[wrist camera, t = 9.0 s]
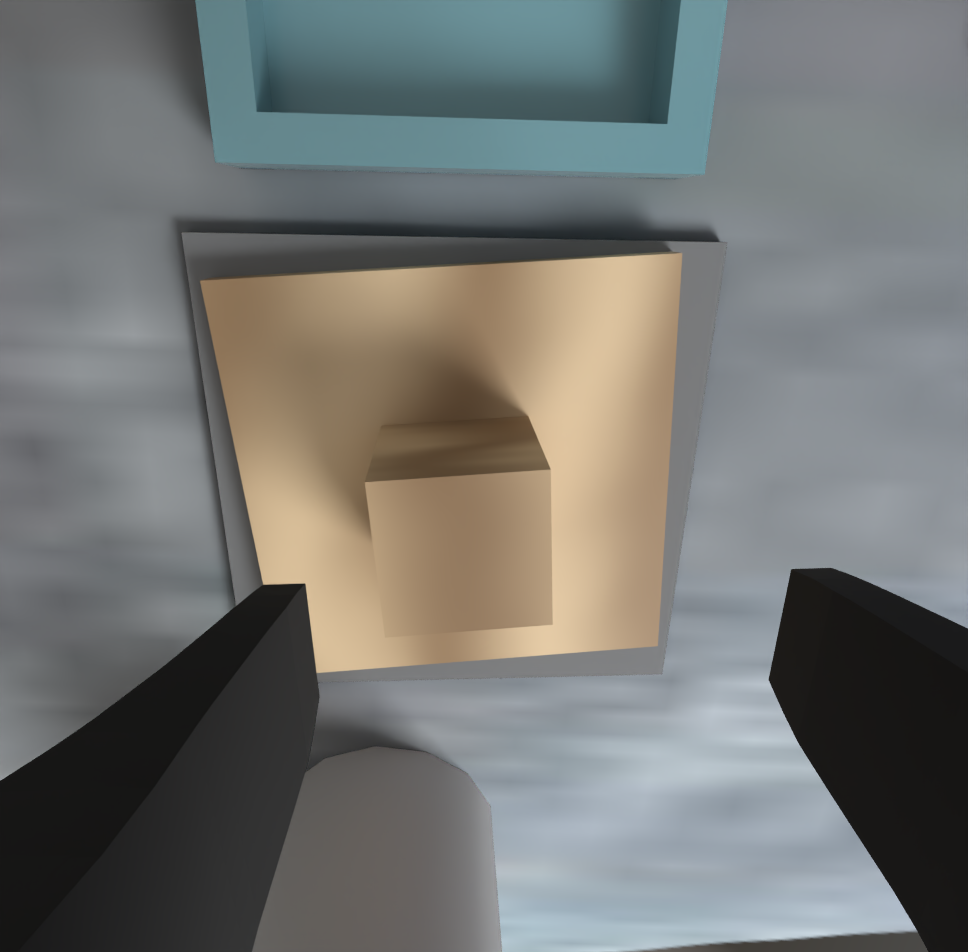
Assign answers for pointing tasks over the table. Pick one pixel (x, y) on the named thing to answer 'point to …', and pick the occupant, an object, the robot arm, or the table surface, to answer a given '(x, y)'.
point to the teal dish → (463, 85)
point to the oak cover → (457, 451)
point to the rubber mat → (353, 252)
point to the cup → (385, 860)
